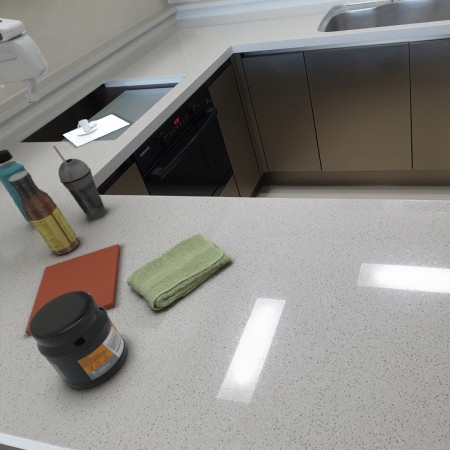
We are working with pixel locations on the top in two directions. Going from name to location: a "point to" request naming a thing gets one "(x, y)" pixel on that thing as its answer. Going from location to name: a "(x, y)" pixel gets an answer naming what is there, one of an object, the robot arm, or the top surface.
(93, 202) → the beverage cup
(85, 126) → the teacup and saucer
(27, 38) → the robot arm
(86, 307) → the supplement container
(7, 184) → the beverage bottle
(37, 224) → the sauce bottle
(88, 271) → the condiment mat
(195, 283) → the washcloth
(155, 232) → the top surface
